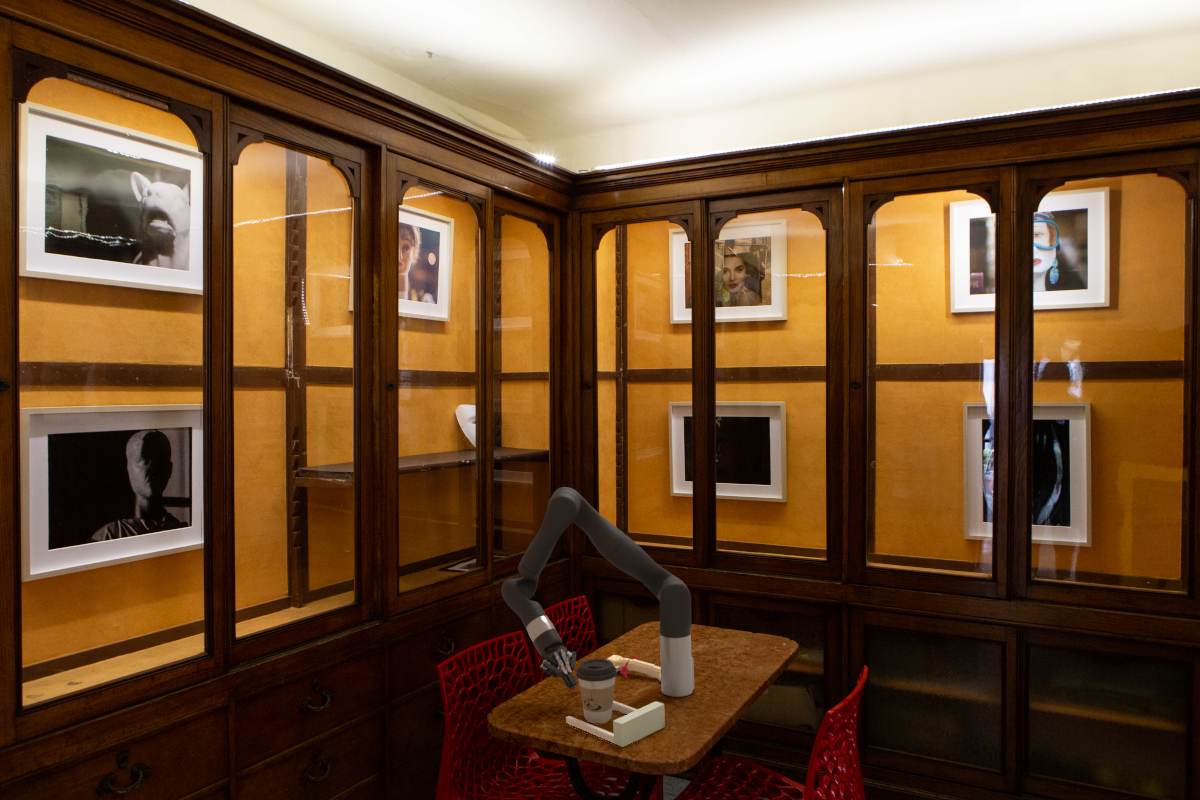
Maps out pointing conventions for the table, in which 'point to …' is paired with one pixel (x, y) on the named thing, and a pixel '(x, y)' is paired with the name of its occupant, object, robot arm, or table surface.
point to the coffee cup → (597, 689)
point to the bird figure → (635, 666)
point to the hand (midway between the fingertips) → (573, 687)
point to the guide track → (628, 723)
